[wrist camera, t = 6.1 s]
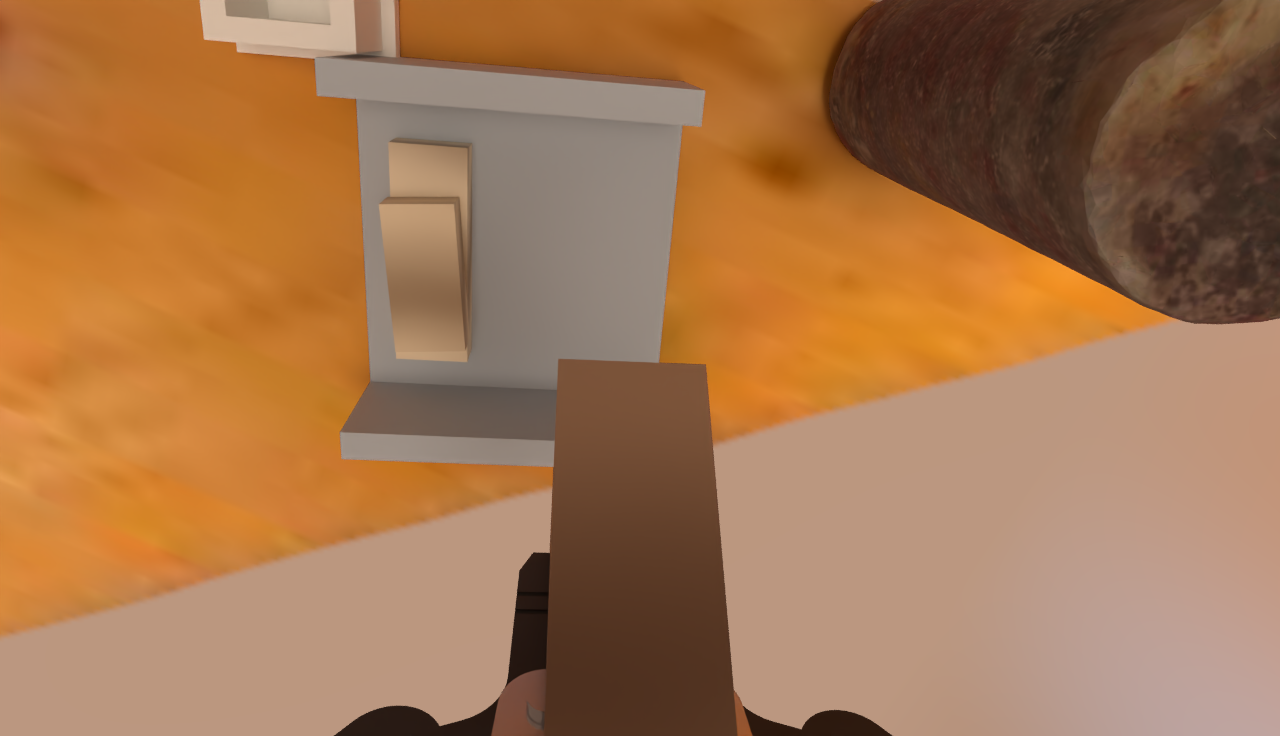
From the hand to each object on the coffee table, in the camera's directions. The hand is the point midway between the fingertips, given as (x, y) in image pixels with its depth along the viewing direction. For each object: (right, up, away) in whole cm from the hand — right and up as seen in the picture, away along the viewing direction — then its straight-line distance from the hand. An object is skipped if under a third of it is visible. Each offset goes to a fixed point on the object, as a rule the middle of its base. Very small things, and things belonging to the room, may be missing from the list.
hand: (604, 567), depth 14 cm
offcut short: (-8, +8, +18) cm, 21 cm away
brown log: (+12, +16, +20) cm, 28 cm away
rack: (-5, +9, +21) cm, 23 cm away
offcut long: (-8, +9, +19) cm, 23 cm away
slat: (-1, -5, +5) cm, 7 cm away
